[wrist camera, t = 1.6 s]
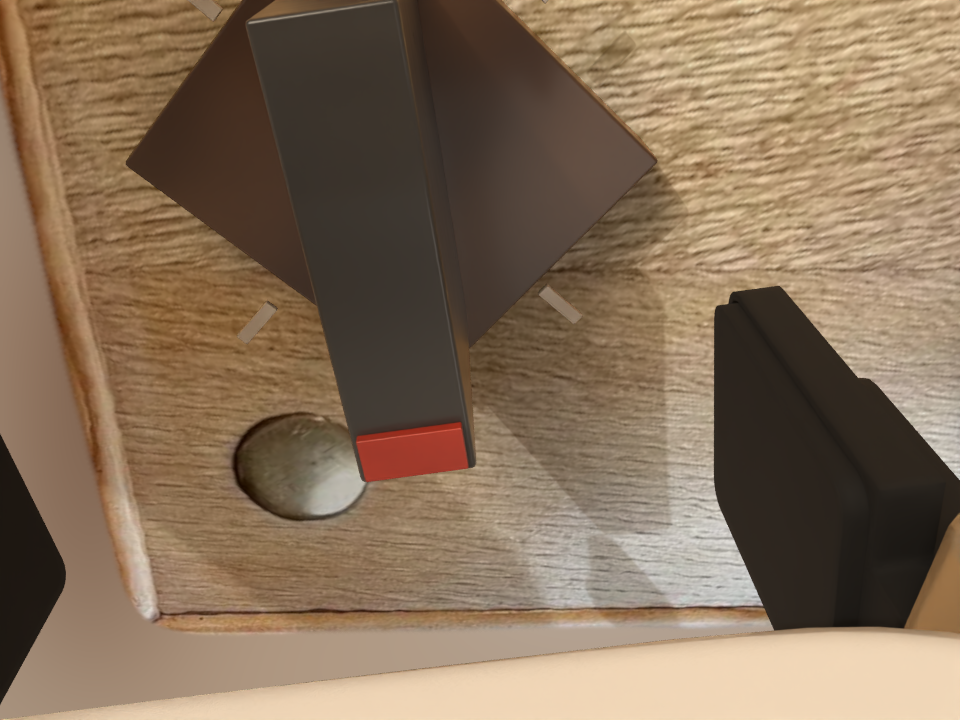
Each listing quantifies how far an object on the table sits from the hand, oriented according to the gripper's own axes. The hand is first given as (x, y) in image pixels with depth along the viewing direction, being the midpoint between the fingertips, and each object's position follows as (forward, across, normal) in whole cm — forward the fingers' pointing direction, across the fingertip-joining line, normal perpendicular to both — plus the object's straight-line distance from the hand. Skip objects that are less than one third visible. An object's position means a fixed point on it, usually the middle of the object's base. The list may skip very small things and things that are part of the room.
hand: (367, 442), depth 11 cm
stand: (+14, 0, 0) cm, 14 cm away
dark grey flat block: (+12, 0, 0) cm, 12 cm away
